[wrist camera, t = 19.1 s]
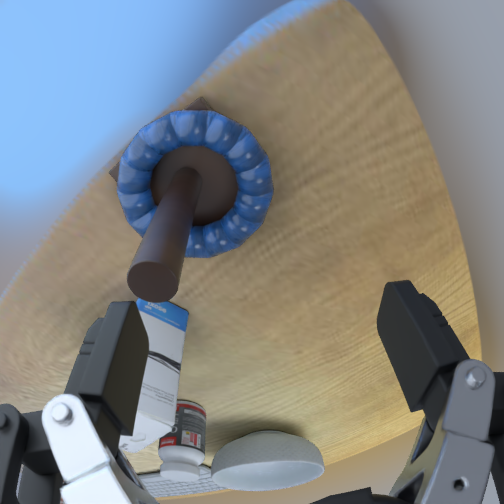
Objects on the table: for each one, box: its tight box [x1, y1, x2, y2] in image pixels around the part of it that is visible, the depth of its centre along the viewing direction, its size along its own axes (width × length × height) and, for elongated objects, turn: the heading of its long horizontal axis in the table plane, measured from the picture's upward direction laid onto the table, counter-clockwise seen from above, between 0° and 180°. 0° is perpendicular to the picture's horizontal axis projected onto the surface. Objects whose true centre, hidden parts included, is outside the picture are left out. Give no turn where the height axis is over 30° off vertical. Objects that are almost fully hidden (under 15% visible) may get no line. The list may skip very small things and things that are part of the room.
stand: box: [109, 97, 238, 303], centre depth 17 cm, size 8×8×12 cm
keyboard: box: [138, 465, 228, 497], centre depth 57 cm, size 44×12×2 cm, turn 126°
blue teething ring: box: [117, 110, 274, 258], centre depth 20 cm, size 10×10×2 cm
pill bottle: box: [158, 401, 206, 482], centre depth 34 cm, size 6×6×10 cm
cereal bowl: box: [211, 430, 325, 491], centre depth 42 cm, size 17×17×7 cm
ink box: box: [119, 298, 189, 453], centre depth 25 cm, size 8×5×12 cm, turn 143°
